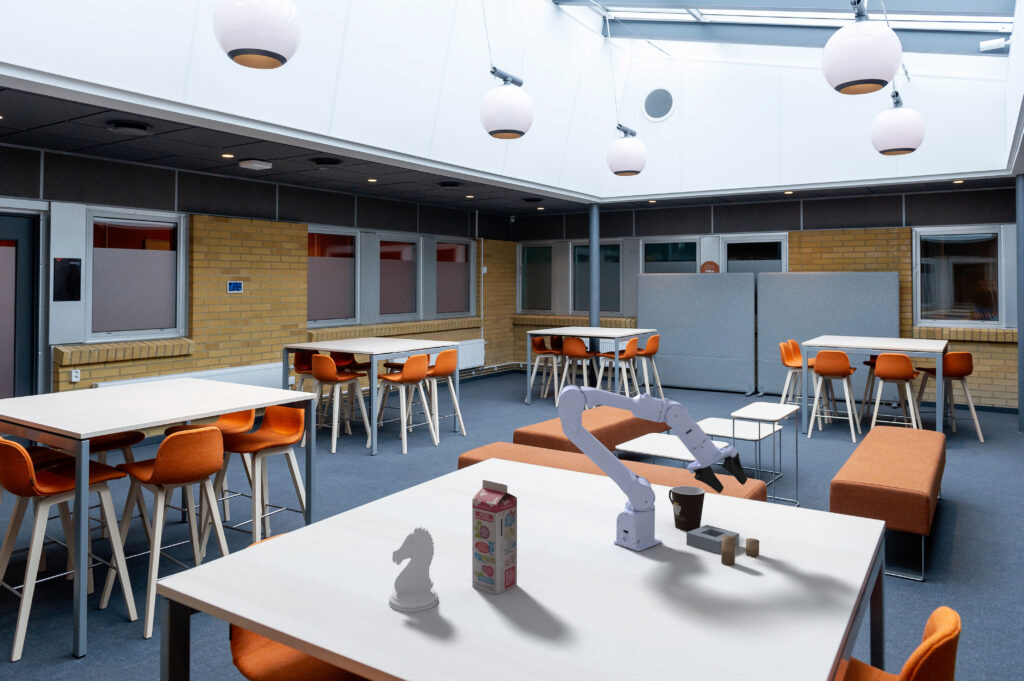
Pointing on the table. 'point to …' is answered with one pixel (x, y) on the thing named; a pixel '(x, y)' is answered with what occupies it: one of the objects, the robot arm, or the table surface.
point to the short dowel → (752, 547)
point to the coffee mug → (687, 506)
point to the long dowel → (728, 550)
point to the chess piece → (414, 574)
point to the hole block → (709, 538)
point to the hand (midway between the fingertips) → (733, 486)
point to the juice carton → (494, 538)
